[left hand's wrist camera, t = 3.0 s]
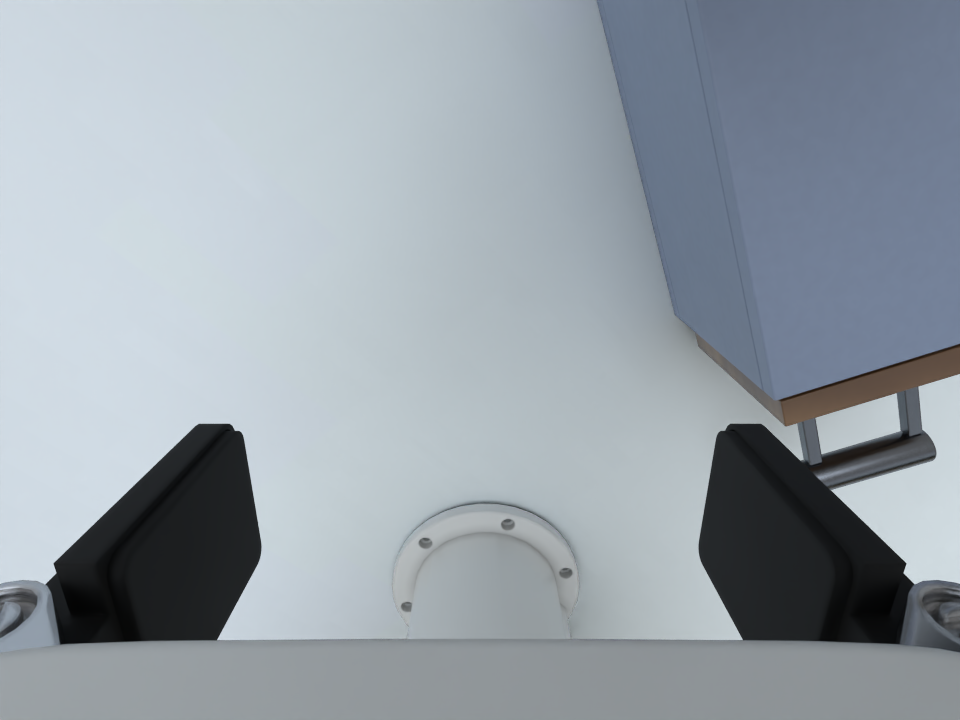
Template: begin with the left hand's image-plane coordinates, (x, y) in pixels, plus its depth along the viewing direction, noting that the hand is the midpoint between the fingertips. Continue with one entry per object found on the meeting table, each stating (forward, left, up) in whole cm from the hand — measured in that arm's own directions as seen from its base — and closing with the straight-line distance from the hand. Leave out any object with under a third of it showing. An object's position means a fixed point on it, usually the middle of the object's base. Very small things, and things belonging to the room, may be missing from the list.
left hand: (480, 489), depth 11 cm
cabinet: (-3, -15, -21) cm, 26 cm away
